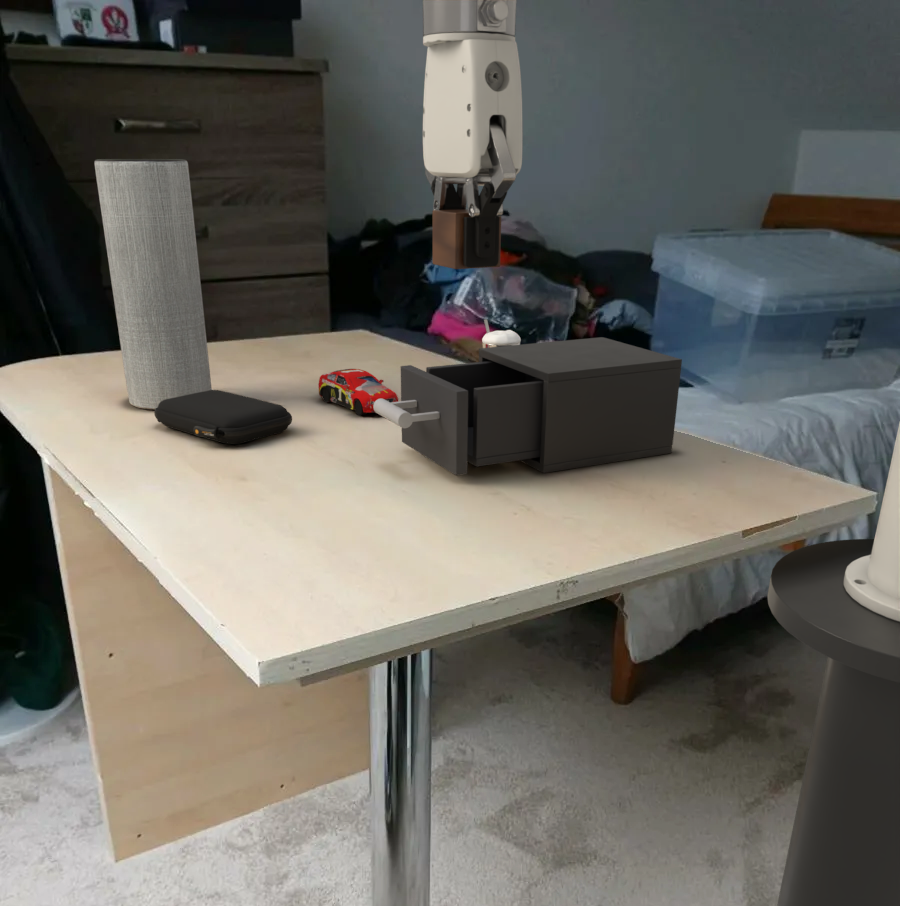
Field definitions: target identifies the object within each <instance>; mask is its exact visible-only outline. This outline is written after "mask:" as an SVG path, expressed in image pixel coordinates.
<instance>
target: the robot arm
mask: <svg viewBox="0 0 900 906" xmlns="http://www.w3.org/2000/svg"><path fill="white" fill-rule="evenodd" d="M517 1H518V0H422V45H423V46H424V47H427V50H426V61H425V70H424V71H425V72H424V83H423V84H424V86H423V103H422V104H423V105H422V106H423V107H422V154H423V155H422V156H423V164H424V174H425V177H426V179H427V182H428V183H429V185H430V190H431V192H432V195H433V210H465V209H468V213H469V216H470V217H464V247H463V264H464V266H466V267H488V268H490V267H489V266H496V265H497V264H498V260H499V221H500V217H501V218H502V217H503V214H504V201H505V199H506V197H507V195H508V191H509V190H510V188H511V187H512V186H513V184H514V183H515V182H516V179H517V175H518V174H519V173H520V172H521V169H522V166H523V165H522V164H523V139H524V138H523V132H524V131H523V93H522V76H521V75H522V74H521V73H522V72H521V65H520V56H519V55H520V54H519V50H518V43H517V41H516V36H517V35H516V34H517V33H516V31H517V29H516V28H517ZM455 185H456V188H455ZM479 187H481V190H480V192H479ZM873 539H874V544H873V548H872V553H871V555H868V556H864V557H861V558H859V559H857V560H855V561H853V562H851V563H850V564H849V565H848V566H847V568H846V571H845V576H844V584H843V585H844V587H845V589H846V591H847V592H848V594H849V595H850V596H851V597H852V598H853V599H854V600H855V601H857V602H858V603H859V604H861V605H862V606H864V607H866V608H867V609H869V610H871V611H873V612H875V613H877V614H879V615H882V616H884V617H886V618H889V619H892V620H895V621H898V622H900V422H899V423H898V428H897V433H896V438H895V443H894V447H893V451H892V455H891V459H890V465H889V470H888V475H887V479H886V484H885V489H884V493H883V497H882V503H881V506H880V512H879V515H878V521H877V526H876V530H875V536H874V538H873Z"/></svg>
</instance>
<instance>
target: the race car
mask: <svg viewBox="0 0 900 906" xmlns="http://www.w3.org/2000/svg"><path fill="white" fill-rule="evenodd" d="M383 383H384V379H378V378H377V377H376V376H375V375H373V374H372V373H370V372H368V371H367V370H363V369H361V368H360V369H359V368H345V369H338V370H333V371H330V372H328V373H323V374H321V375H320V376H319V379H318V395H319V397H322V399H323V401H324V402H325V403H326V404H327V403H335V404H337V405H340V406H342V407H345V408H347V409H350V410H353V411H355V414H356V415H357V416H365V415H367V413H369V414H370V413H376V412H375V411H374V408H373V405H374V402H375V401H376V400H377V399H380V398H382V399H385V400H386V401H388V402H399V396H398V394H397V393H396V392H395V391H394V390H393V389H391V388H389V387H387V386H386V385H384V384H383Z"/></svg>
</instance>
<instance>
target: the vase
mask: <svg viewBox="0 0 900 906" xmlns="http://www.w3.org/2000/svg"><path fill="white" fill-rule="evenodd" d="M94 170H95V177H96V178H95V179H96V184H97V192H98V198H99V199H98V200H99V205H100V206H99V207H100V212H101V221H102V226H103V233H104V240H105V249H106V253H107V261H108V268H109V275H110V281H111V282H110V283H111V289H112V295H113V302H114V309H115V310H114V311H115V317H116V323H117V329H118V331H117V332H118V336H119V345H120V351H121V359H122V366H123V372H124V380H125V386H126V392H127V397H128V402H129V404H130V405H132V406H133V407H136V408H139V409H142V410H152V411H153V410H154V411H155V409H156V408H157V407H158V405H159V403H160V402H161V401H163V400H165V399H170V398H175V397H180V396H184V395H189V394H194V393H198V392H203V391H208V390H213V389H212V378H211V377H212V376H211V369H210V360H209V359H210V358H209V351H208V341H207V333H206V332H207V331H206V321H205V320H206V319H205V312H204V303H203V294H202V293H203V292H202V284H201V275H200V264H199V255H198V246H197V236H196V228H195V227H196V226H195V216H194V207H193V199H192V190H191V180H190V170H189V162H188V161H187V160H186V159H178V158H176V159H175V158H173V159H169V158H168V159H167V158H165V159H164V158H163V159H162V158H149V159H148V158H111V159H110V158H105V159H104V158H101V159H100V158H99V159H98V158H97V159H95V160H94Z"/></svg>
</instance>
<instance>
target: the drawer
mask: <svg viewBox="0 0 900 906" xmlns="http://www.w3.org/2000/svg"><path fill="white" fill-rule="evenodd" d="M543 386H544V380H541V379H539V378H536V377H533V376H531V375H528V374H525V373H523V372H520V371H517V370H515V369H512V368H509V367H507V366H504V365H501V364H499V363H496V362H493V361H485V362H479V361H475V362H466V363H455V364H445V365H436V366H426V367H425V370H423V369H420V368H419V367H416V366H414V365H413V364H412V365H411V364H407V365H401V366H400V400H398V402H388V401H386V400H385V399H382V398H380V399H377V400H376V401H375V402H374V405H373V408H374V411H375V412H374V413H375V414H378V415H379V416H381V417H383V418H385V419H386V420H388V421H389V422H391V423H393V424H395V425H396V426H398V427H399V428H401V443H402V444H404V445H405V446H408V447H410V448H411V449H412V450H414V451H416V452H417V453H419V454H421V455H422V456H424V457H426V458H427V459H429V460H430V461H432V462H433V463H435V464H437V465H438V466H440V467H442V468H443V469H445V470H447V471H448V472H450V473H451V474H453V475H455V476H461V475H467V474H468V463H469V464H471V465H473V466H475V467H484V466H490V465H497V464H503V463H511V462H515V461H516V462H517V461H520V460H524V459H531V458H537V457H540V448H541V427H542V407H543Z"/></svg>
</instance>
